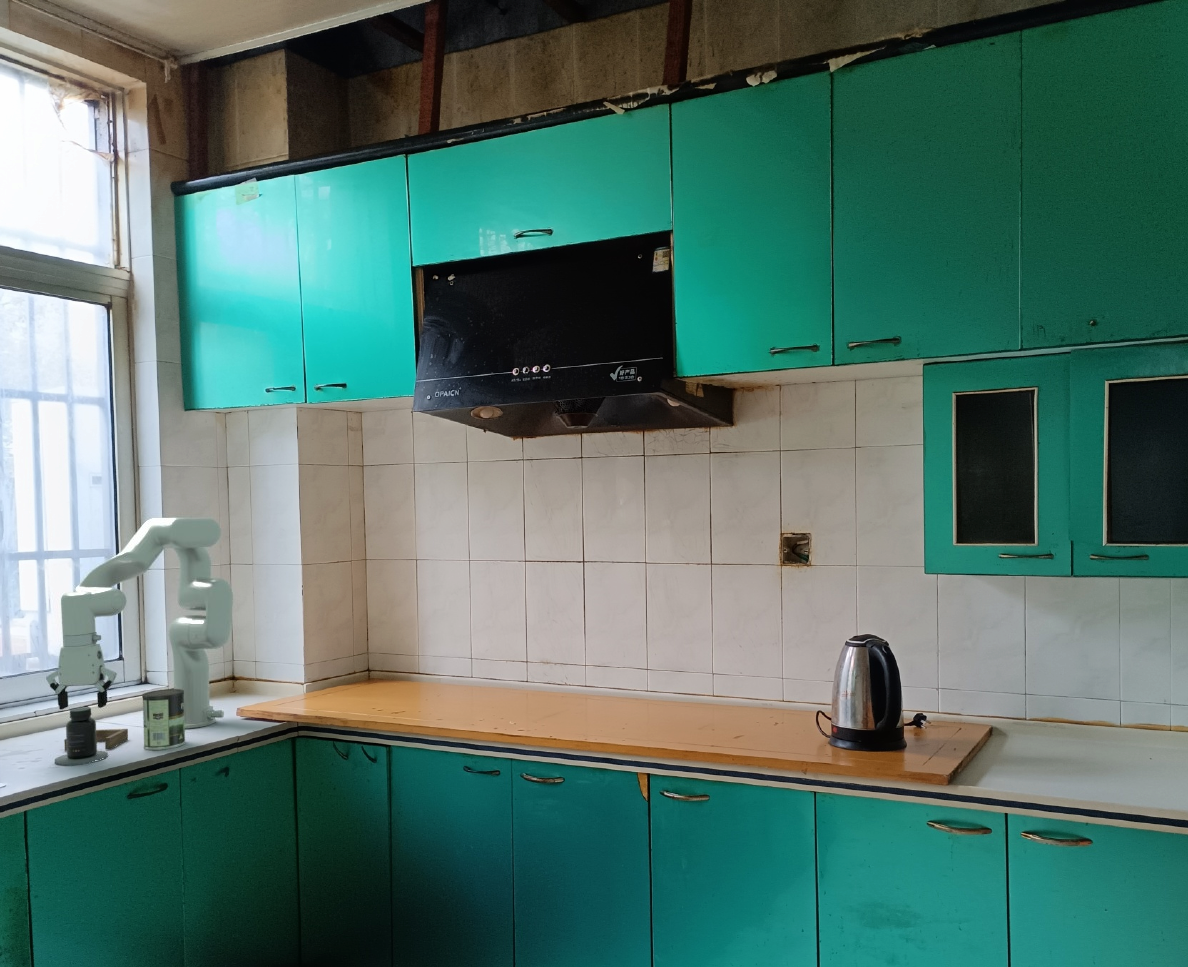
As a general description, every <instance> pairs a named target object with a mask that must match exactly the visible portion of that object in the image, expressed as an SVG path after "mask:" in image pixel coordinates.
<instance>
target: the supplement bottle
mask: <svg viewBox="0 0 1188 967" xmlns="http://www.w3.org/2000/svg"><path fill="white" fill-rule="evenodd" d="M92 714H93V713H92V708H91V707H89V706H88V707H86V706H85V707H77V708H72V709H71V710H69V719H70V720H69V721H67V723H66V725H65V731H66V732H65V739H66V742H67V751H66V754H67V757H68V758H69V759H73V760H76V759H85V758H89V757H92V756H95V755H96V753H97V751H98V742H97V738H96V730H97V722H96V719H95V718H93V717H91V716H92Z"/></svg>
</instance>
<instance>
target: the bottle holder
mask: <svg viewBox="0 0 1188 967" xmlns="http://www.w3.org/2000/svg"><path fill="white" fill-rule="evenodd" d="M96 738H97V743H99V742H100V743H101V742H104V745H105V749H110V750H111V748H112V749H114V748H115V746H116V745H117V746H119V745H121V744H123V743H125V742H126V740H127V741H128V740H129V730H128V728H115V729H114V728H111V729H109V728H108V729H96ZM63 742H64V751H65V752H67V742H66V738H64V740H63ZM120 743H121V744H120ZM117 746H116V747H117Z"/></svg>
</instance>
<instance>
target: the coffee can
mask: <svg viewBox="0 0 1188 967" xmlns="http://www.w3.org/2000/svg"><path fill="white" fill-rule="evenodd" d="M141 696H142V716H143V717H142V718H143V722H142V723H143V725H142V726H143V749H144V748H145V749H144V750H147V749H148V750H149V751H159V750H160V751H161V750H162V749H163V750H170V749H175V748H179V747H181V746H184V745H185V744H186V741H185V740H186V737H185V736H186V734H185V731H186V730H185V729H184V690H181V689H174V688H168V689H167V688H165V689H156V690H151V691H148V692H145V693H142V694H141ZM169 748H170V749H169Z"/></svg>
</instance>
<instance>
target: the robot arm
mask: <svg viewBox="0 0 1188 967" xmlns="http://www.w3.org/2000/svg"><path fill="white" fill-rule="evenodd" d="M221 535H222V528H221V526H220V524H219V522H218V521H216V520H215V519H214V518H211V517H154V518H150V519H148V520H146V521H145V522H144V523H143V524H142V525H141V526H140V528H138V530H137V531H136V532H135V533H134V535H133V536H132V537H131V539H130V540H128V542H127V543H126V544H125V546H124V547H123V548H122V550H120V552H119V553H117V554H116V555H115V556H113V557H111V558H109V559H107V560H106V561H104V562H102V563H101V564H99V565H98V566H96V567H95V568H94V569H92V570H91V571H89V572H88V573H86V575H85V576H84V577H83V578H82V580H80V582H79V583H78V584H77V586H76V587H75V589H74V590H73V591H71V592H67V593H64V594H62V596H61V598H60V607H61V609H60V610H61V611H60V612H61V626H62V627H61V630H62V632H61V633H62V646H60V650H59V656H58V665H57V666H58V669H57V670H56V671H54V672H52V673H50V674H48V675H46V677H45V679H46V682H47V683H48V684H49V687H50V688H51V690H52V691H54V693H55V694H56V695H57V705H58V707H59V710H64V709H66V708H68V707H69V696H68V694H69V692H68V691H67V689H68V687H80V686H81V687H82V686H83V687H84V686H94V687H95V688H96V689H97V691H98V692H97V693H96V694H97V696H96V697H97V708H98V709H101V708H103V707H106V706H107V704H108V689H109V688H110V687H111V686H112V685H113V684H114V681H115V680H116V678H117V675H118V674H117V672H115V671H113V670H111V669H110V668H106V666H105V660H104V655H103V650H102V646H101V644H100V643H98V641H101V640H102V635H100V634H97V631H96V630H97V628H96V618H99V617H100V618H101V617H103V618H104V617H113V616H117V615H118V614H120V613H121V612H122V611H123V610H125V607H126V606H127V597H126V594H125V592H123V591H122V590H121V589H118V588H116V587H114V586H116V585H118V584H120V583H123V582H126V581H129V580H132V579H134V578H138V577H139V576H141V575H144V574H145V573H147V571H149V569H150V567H151V566H152V565H153V563H154V562H155V561H156V560H157V558H158V557H159V556H160V555H161V553H162V552H163V551H164V550H165V549H168V548H169V549H173V550H174V551H175V553H176V554H177V556H178V560H179V578H178V590H177V591H178V592H177V602H178V606H180V608H182V609H184V610H186V611H196V612H198V611H200V612H203V611H205V615H201V614H199V615H197V614H194V615H193V614H191V615H189V614H188V615H182V616H179V617H177V618H175V619H174V620H173V621H172V622H171V624H170V626H169V631H168V635H169V636H168V637H169V642H170V646H171V651H172V659H173V661H172V662H173V689H181V690H184V729H196V728H203V727H206V726H211V725H213V724H215V723H216V721H217V719H222V718H224V717H225V712H224V711H223V710H215V709H214V706H213V705H210V704H211V703H210V662H209V659H208V658H209V657H208V655H207V653H206V651H205V649H206V650H217V649H218V650H219V649H221V648H223V647H224V646H226V644H227V643H228V641H229V639H230V635H231V631H232V630H231V629H232V616H233V603H234V595H233V594H234V593H233V589H232V586H231V585H230V583H229V582H228V581H227V580H225V579H222V578H218V577H212V576H211V575H212V573H211V572H212V562H211V556H210V553H209V552H208V550H207V549H206V548H210V547H213V546H215V545H216V544H217V543H218V542H219V540H220V539H221ZM57 677H58V681H57V680H56V678H57ZM106 677H108V678H107V681H106V682H105V680H106Z"/></svg>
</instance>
